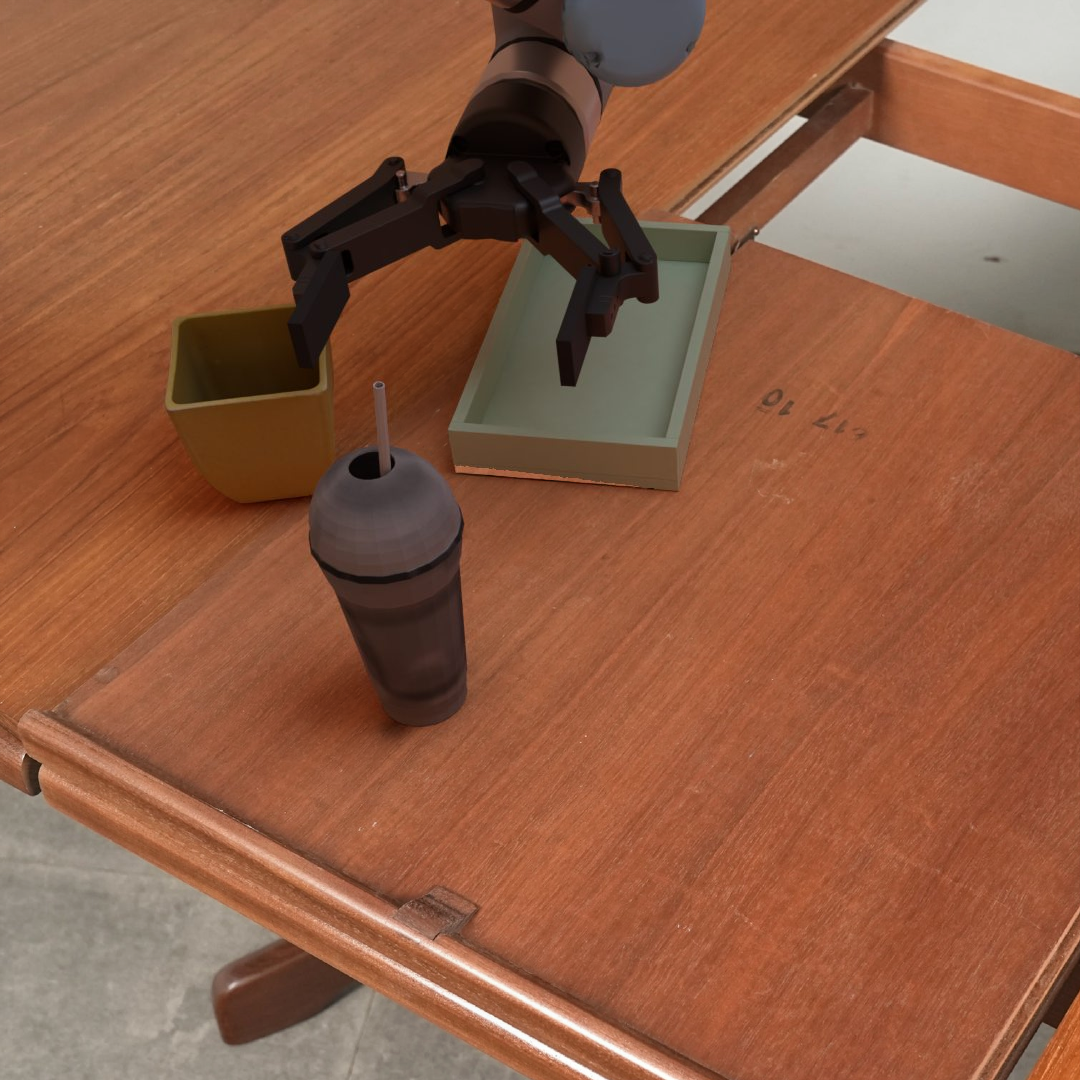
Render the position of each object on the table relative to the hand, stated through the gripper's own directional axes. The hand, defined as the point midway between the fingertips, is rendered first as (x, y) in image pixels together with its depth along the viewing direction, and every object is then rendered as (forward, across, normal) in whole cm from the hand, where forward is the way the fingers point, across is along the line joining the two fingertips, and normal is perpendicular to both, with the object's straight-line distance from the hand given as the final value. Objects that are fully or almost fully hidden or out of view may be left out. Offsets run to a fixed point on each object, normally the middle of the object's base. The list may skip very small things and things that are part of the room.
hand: (431, 355), depth 77 cm
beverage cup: (+10, 0, -15) cm, 18 cm away
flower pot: (-6, +13, -14) cm, 21 cm away
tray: (-20, -4, -14) cm, 25 cm away
